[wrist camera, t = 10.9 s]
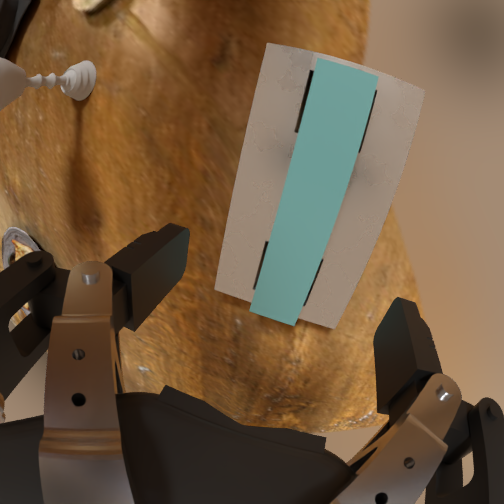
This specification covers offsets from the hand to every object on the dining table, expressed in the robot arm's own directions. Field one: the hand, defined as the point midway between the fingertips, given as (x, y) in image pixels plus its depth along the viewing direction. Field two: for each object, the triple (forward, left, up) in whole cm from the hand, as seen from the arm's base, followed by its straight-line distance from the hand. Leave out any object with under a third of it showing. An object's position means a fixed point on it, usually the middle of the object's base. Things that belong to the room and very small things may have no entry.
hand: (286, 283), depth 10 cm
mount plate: (0, 0, -16) cm, 16 cm away
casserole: (-20, -56, -16) cm, 61 cm away
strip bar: (0, 0, -15) cm, 15 cm away
